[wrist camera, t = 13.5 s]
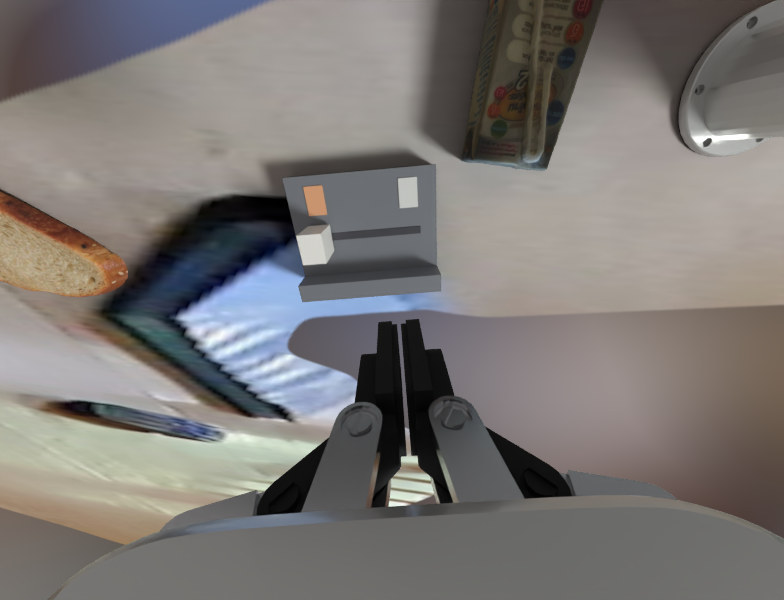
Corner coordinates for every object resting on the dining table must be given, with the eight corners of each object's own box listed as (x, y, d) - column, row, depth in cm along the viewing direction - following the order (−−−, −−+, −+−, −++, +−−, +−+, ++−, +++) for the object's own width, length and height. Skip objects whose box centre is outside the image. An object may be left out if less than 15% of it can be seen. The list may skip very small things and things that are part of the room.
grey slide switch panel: (431, 164, 31) (440, 164, 26) (433, 272, 37) (441, 291, 31) (291, 176, 31) (271, 179, 26) (314, 281, 37) (302, 302, 32)
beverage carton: (455, 162, 31) (470, 162, 25) (502, -96, 23) (542, -186, 17) (522, 170, 32) (554, 172, 26) (594, -79, 23) (664, -161, 17)
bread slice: (142, 282, 37) (117, 294, 34) (31, 313, 39) (-2, 327, 36) (32, 132, 30) (-14, 128, 26) (-99, 180, 31) (-158, 182, 28)
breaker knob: (329, 224, 31) (320, 233, 26) (334, 250, 32) (326, 263, 28) (308, 226, 31) (296, 235, 27) (313, 252, 32) (303, 265, 28)
